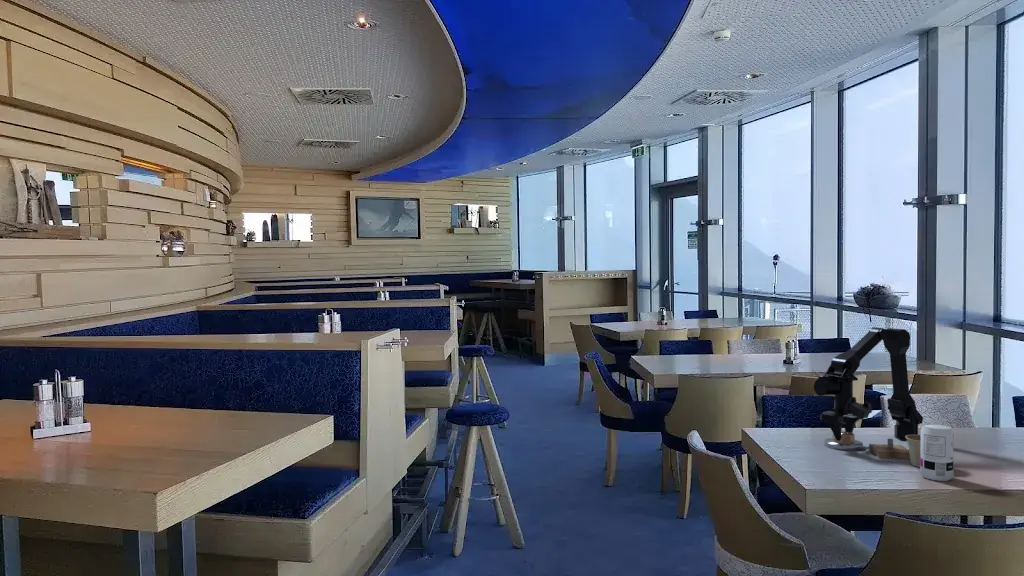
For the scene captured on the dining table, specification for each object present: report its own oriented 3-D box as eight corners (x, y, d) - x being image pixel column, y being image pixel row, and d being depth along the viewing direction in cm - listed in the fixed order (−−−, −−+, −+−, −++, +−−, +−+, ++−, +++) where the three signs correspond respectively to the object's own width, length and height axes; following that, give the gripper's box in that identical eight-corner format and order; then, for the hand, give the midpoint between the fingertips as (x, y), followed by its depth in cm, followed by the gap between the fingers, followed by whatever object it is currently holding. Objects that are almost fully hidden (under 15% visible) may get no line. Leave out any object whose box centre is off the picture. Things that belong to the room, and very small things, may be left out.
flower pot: (938, 463, 220) (938, 435, 220) (942, 471, 212) (942, 442, 212) (904, 460, 224) (904, 433, 224) (906, 468, 216) (906, 439, 215)
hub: (856, 442, 247) (856, 429, 247) (867, 451, 236) (867, 437, 236) (820, 441, 250) (820, 428, 249) (829, 450, 238) (829, 436, 238)
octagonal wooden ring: (840, 439, 247) (840, 430, 247) (857, 442, 242) (857, 433, 241) (830, 441, 243) (830, 432, 243) (847, 445, 238) (847, 436, 238)
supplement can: (914, 474, 209) (914, 423, 209) (940, 473, 210) (940, 423, 209) (932, 482, 201) (933, 430, 201) (960, 481, 202) (960, 429, 201)
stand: (901, 450, 236) (901, 436, 236) (912, 458, 226) (912, 443, 226) (869, 449, 237) (869, 435, 237) (879, 457, 228) (879, 442, 227)
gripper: (851, 400, 230) (851, 447, 231) (881, 394, 241) (881, 439, 241) (819, 395, 239) (819, 441, 240) (849, 389, 250) (849, 433, 250)
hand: (843, 439), depth 243 cm, fingers closed on octagonal wooden ring, 6 cm apart
